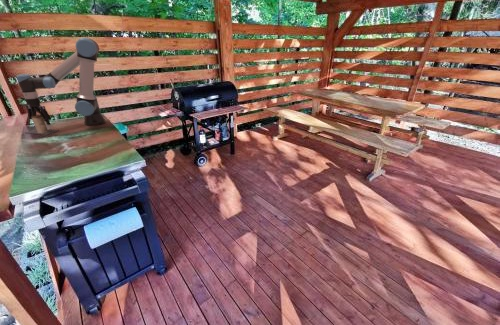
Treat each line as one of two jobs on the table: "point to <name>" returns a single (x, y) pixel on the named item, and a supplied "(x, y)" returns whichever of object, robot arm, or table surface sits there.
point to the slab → (40, 124)
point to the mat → (41, 133)
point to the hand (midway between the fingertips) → (44, 128)
